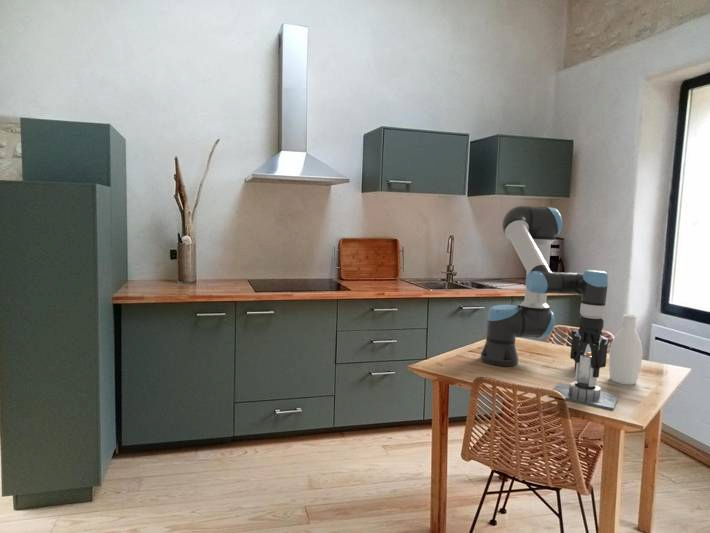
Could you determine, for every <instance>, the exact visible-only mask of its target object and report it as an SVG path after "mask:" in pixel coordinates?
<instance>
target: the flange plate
mask: <svg viewBox="0 0 710 533" xmlns="http://www.w3.org/2000/svg"><path fill="white" fill-rule="evenodd" d="M601 389H602V388H601V387H600V386H599V385H597V384H596V386H593V389H584V388H580V387H577V382H576V381H575V380H574V381H571V382H570V383H569V384H568V383H562V382H557V383H556V385H555V386H554V388H553V389H552V390H556V391H558V392H560V393H561V394H562V395H563V396H564V397H565V399H566V400H565V401H569V402H574V403H577V404H582V405H588V406H590V407H591V406H593V407H596V408H601V409H606V410H609V411H614V410H615V407H616V405H617V403H618V401H619V398H620V394H617V393H612V392H608V391H607V392H606V391H602V390H601Z"/></svg>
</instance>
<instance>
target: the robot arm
mask: <svg viewBox="0 0 710 533" xmlns="http://www.w3.org/2000/svg"><path fill="white" fill-rule="evenodd" d="M501 227H502V231H503V234H504V236H505V237H506V238H507V240H510V243H511V244H512V246H513V247H514V250H515V251H516V253H517V255H518V257H519V259H520V261H521V264H522V265H523V268H524V269H525V271H526V275H525V276H526V277H525V291H524V300H523V301H522V302H521V303H520V305H519V307H518V306H517V305H514V304H500V305H493V306H491V307H490V308H489V310H488V314H487V317H486V318H487V326H486V338H485V344H484V345H483V348H482V350H481V353H480V359H479V360H481V362H483V363H486V364H488V365H492V366H496V367H497V366H498V367H513V366H514V367H515V366H517V365H519V356H518V352H517V347H516V339H517V338H535V339H540V338H547V337H549V335H551V333H552V332H553V330H554V328H555V323H556V322H555V321H556V317H555V314H554V312H553V311H552V310H551V308H550V305H549V304H548V303H547V299H548V298H547V297H548V294H555V295H556V294H558V295H578V296H581V299H580V300H581V301H580V307H579V308H580V309H579V313H580V316H579V318H578V319H579V321H578V326H579V329H576V330H575V329H574V330H571V345H570V346H571V347H570V355H569V356H570V359H571V360H573V361H574V371H575V378H574V382H575V381H576V382H577V381H578V371H579V360H580V354H584V353H585V350H586V347H587V345H588V344H589V346H590V348H591V355H592V363H593V366H592V367H591V368H590V378H589V386H590V387H593V386H596V385H597V382H598V381H597V379H598V378H599V376H600V370H601V368H605V367H606V366H607V357H608V356H607V355H608V346H609V344H610V338H606V337H604V335H603V332H602V331H603V330H604V324H605V319H604V317H605V313H606V312H605V311H606V302H607V293H608V286H609V283H608V282H609V281H608V278H609V277H608V276H609V275H608V272H606V271H604V270H596V269H595V270H594V269H586V270H584V272H583V273H582V272H579V271H569V272H560V271H559V272H558V271H552V270H551V268H550V258H551V248H552V247H551V245H552V244H553V243H554V242H555V241H556V237H557V236H559V235H560V234H561V233H562V232H561V231H562V230H563V218H562V215H561V213H560V211H559V210H558V209H557V208H555V207H548V206H533V205H531V206H530V205H529V206H527V205H518V206H514V207H512V208H511V209H509V210H508V211H507V213H506V214H505V215H504V217H503V219H502V225H501ZM580 337H581V338H580ZM599 340H600V346H599ZM579 343H580V344H579ZM593 344H595V345H593Z"/></svg>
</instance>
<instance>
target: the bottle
mask: <svg viewBox="0 0 710 533" xmlns="http://www.w3.org/2000/svg"><path fill="white" fill-rule="evenodd" d="M622 317H623V318H622V324H621V328H620V329H619V330H618V331H617V332H616V334H615V335H614V338H613V340H612V341H611V345H610V349H609V358H608V362H609V363H608V366H609V367H608V369H609V378H610V380H611V382H614V383H618V384H621V385H625V386H627V385H628V386H629V385H631V386H633V385H636V384H637V383H638V379H639V375H640V372H641V368H642V360H643V346H642V345H643V344H642V342H641V337H640V336H639V334H638V332H637V330H636V324H637V322H636V321H637V316H636V315H634V314H629V313H625V314H623V315H622Z"/></svg>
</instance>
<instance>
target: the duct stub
mask: <svg viewBox="0 0 710 533" xmlns="http://www.w3.org/2000/svg"><path fill="white" fill-rule="evenodd" d="M592 366H593V363H592V355H591V352H586V354H580V360H579V371H578V381H577V387H580V388H584V389H593V387H590V386H589V378H590V368H591V367H592Z"/></svg>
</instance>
